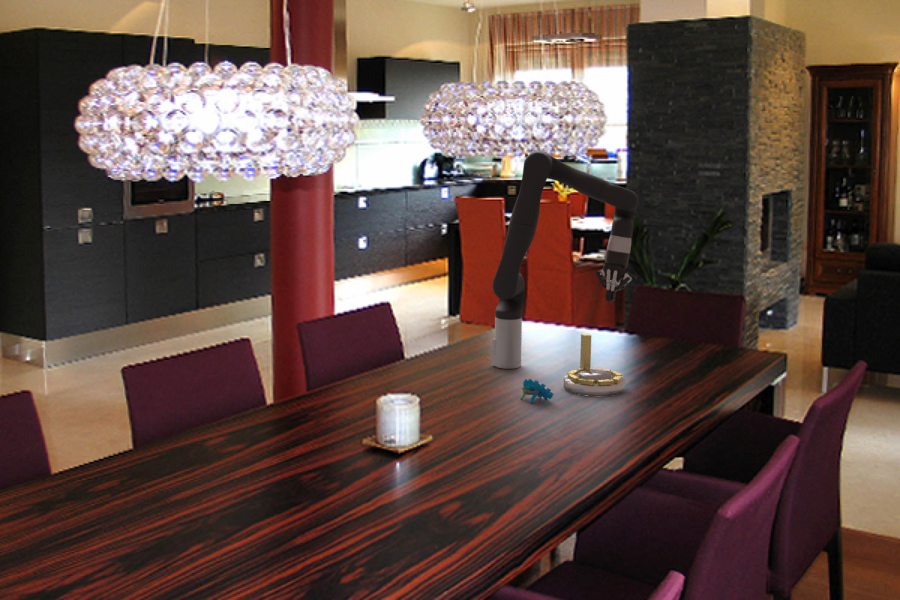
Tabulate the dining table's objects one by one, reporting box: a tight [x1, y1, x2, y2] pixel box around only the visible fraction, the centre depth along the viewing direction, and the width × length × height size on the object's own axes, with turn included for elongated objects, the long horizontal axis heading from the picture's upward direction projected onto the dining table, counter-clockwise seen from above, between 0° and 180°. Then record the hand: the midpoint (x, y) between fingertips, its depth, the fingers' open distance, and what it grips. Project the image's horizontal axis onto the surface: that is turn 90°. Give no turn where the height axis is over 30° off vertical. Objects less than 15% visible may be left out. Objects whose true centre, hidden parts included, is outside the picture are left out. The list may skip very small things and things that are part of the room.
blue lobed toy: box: [520, 378, 554, 404], centre depth 303 cm, size 11×6×10 cm
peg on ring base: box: [567, 333, 624, 385], centre depth 316 cm, size 17×17×13 cm
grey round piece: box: [563, 368, 626, 397], centre depth 318 cm, size 19×19×5 cm
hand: (609, 301), depth 332 cm, fingers closed
